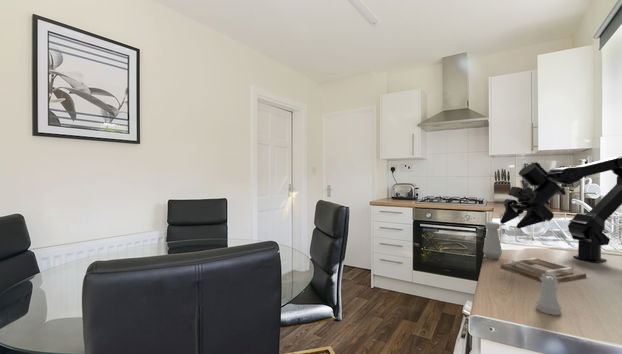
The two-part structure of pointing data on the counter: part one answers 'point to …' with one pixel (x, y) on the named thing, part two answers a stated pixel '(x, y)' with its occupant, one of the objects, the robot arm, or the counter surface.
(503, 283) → the counter surface
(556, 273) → the collar board
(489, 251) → the salt shaker
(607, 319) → the counter surface
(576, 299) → the counter surface
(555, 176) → the robot arm
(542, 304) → the rook chess piece
